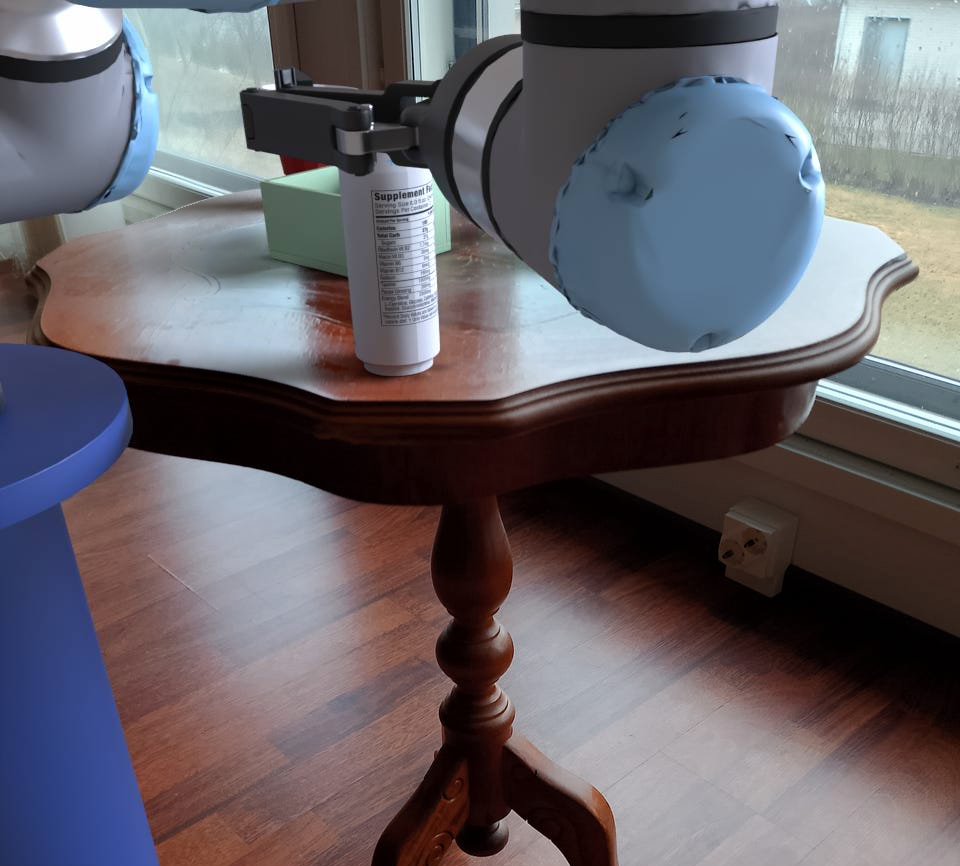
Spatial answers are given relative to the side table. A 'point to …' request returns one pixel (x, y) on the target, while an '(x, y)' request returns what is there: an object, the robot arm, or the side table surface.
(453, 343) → the side table surface
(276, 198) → the bin
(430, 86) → the robot arm
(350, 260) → the energy drink can
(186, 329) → the side table surface
